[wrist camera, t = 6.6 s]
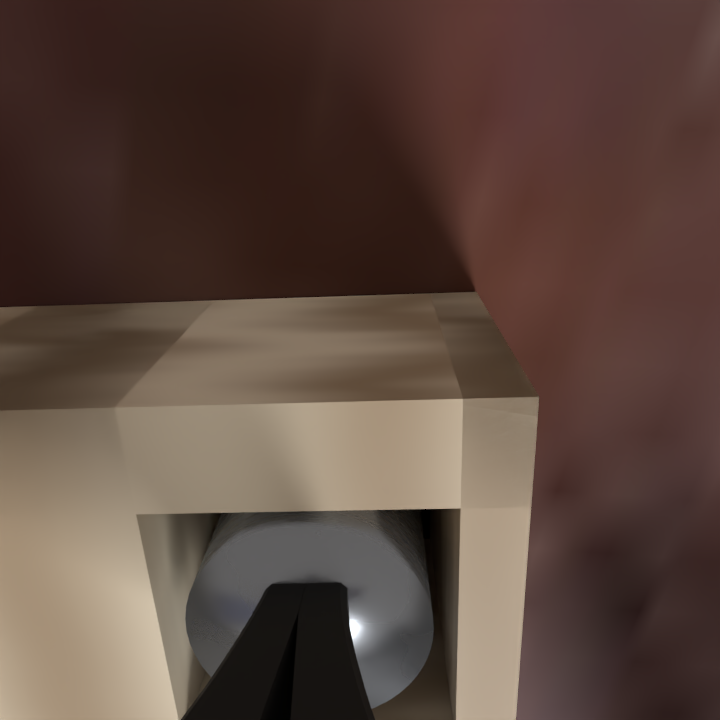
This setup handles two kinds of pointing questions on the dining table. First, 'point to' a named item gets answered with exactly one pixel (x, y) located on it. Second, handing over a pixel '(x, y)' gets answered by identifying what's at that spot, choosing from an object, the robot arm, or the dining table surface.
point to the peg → (322, 565)
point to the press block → (250, 482)
